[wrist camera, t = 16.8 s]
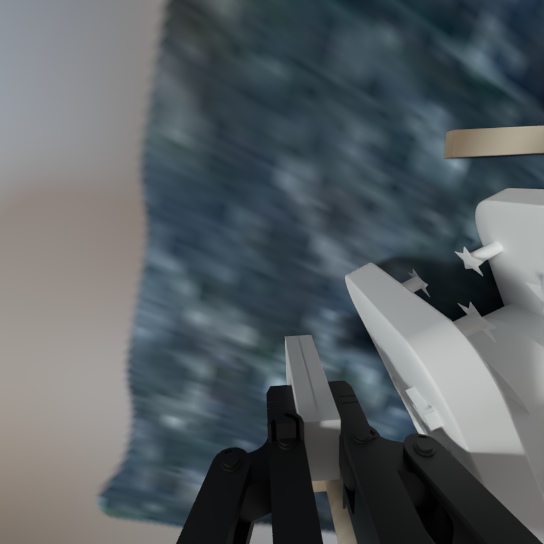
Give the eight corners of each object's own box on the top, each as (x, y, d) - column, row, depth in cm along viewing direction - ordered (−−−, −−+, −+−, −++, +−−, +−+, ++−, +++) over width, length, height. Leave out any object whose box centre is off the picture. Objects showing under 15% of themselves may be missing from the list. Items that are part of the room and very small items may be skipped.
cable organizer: (549, 375, 23) (821, 558, 12) (413, 437, 24) (546, 659, 13) (485, 184, 19) (800, 191, 8) (326, 268, 20) (409, 377, 9)
